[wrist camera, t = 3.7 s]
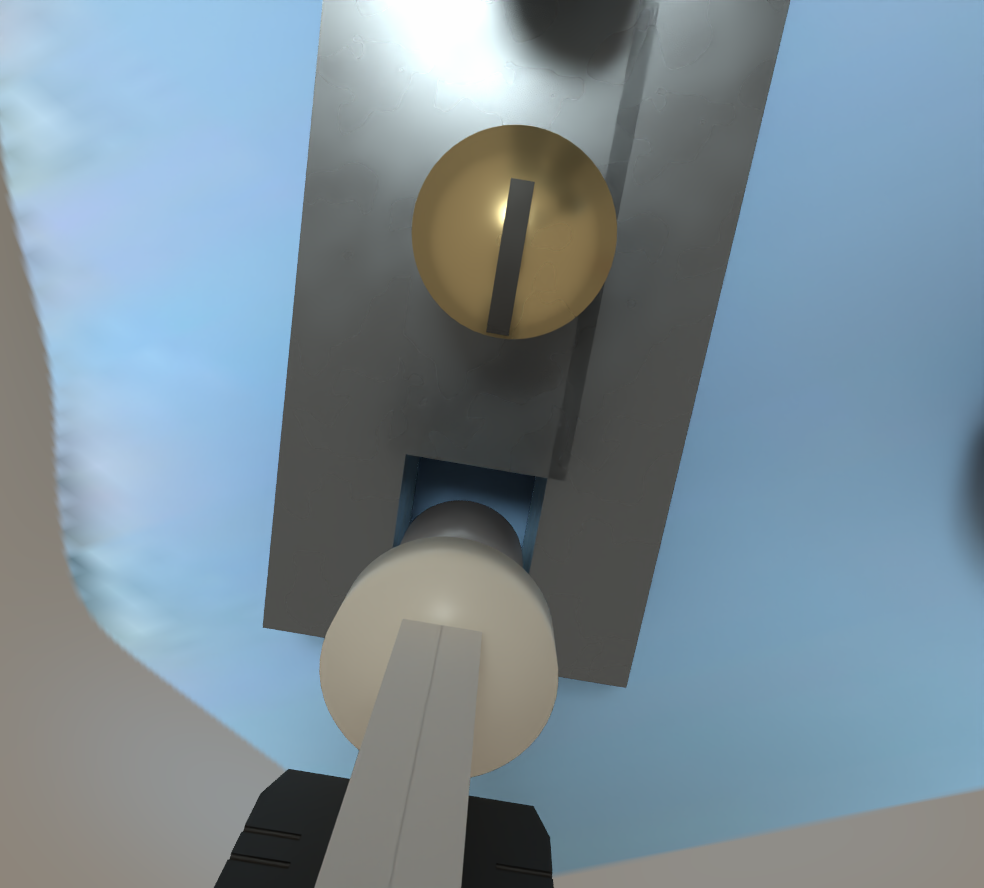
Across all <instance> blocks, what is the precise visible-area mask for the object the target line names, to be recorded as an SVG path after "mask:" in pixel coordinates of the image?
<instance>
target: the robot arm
mask: <svg viewBox="0 0 984 888" xmlns="http://www.w3.org/2000/svg"><path fill="white" fill-rule="evenodd" d="M481 640H482V632H480V631H474V630H468V629H462V628H456V627H450V626H444V625H437V624H431V623H425V622H419V621H413V620H407V619H402V622H401V625H400V628H399V631H398V634H397V637H396V641H395V644H394V647H393V650H392V653H391V656H390V659H389V662H388V665H387V668H386V671H385V674H384V677H383V680H382V683H381V686H380V689H379V692H378V695H377V698H376V701H375V704H374V708H373V711H372V714H371V717H370V720H369V723H368V726H367V729H366V732H365V735H364V738H363V741H362V744H361V747H360V750H359V753H358V756H357V759H356V762H355V765H354V768H353V771H352V775H351V778H350V779H347V778H341V777H335V776H329V775H323V774H316V773H310V772H304V771H298V770H292V769H288V770H287V771H286V772H285V773H283V774H282V775H281V776H280V777H279V778H278V779H277V780H275V781H274V782H273V783H272V784H271V785H270V786H269V787H267V788H266V789H265V790H264V791H263V792H262V793H261V794H260V796H259V798H258V800H257V802H256V804H255V806H254V808H253V810H252V812H251V814H250V816H249V818H248V820H247V822H246V824H245V828H244V831H243V832H241V834H240V836H239V838H238V840H237V842H236V844H235V846H234V848H233V850H232V852H231V856H230V859H229V860H227V862H226V864H225V867H224V869H223V870H222V873H221V874H220V876H219V878H218V881H217V882H216V885H215V886H214V888H554V887H553V879H552V859H551V845H550V837H549V835H548V833H547V831H546V829H545V827H544V825H543V823H542V821H541V820H540V818H539V816H538V814H537V812H536V810H535V808H534V806H529V805H523V804H517V803H511V802H505V801H499V800H492V799H486V798H480V797H474V796H469V786H470V773H471V761H472V749H473V737H474V725H475V713H476V700H477V688H478V676H479V664H480V652H481Z"/></svg>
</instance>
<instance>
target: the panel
mask: <svg viewBox="0 0 984 888" xmlns="http://www.w3.org/2000/svg"><path fill="white" fill-rule="evenodd" d="M789 4H790V0H323V4H322V14H321V25H320V35H319V45H318V56H317V66H316V77H315V87H314V98H313V108H312V118H311V129H310V139H309V150H308V160H307V171H306V181H305V191H304V202H303V212H302V223H301V233H300V244H299V254H298V264H297V275H296V285H295V296H294V306H293V317H292V327H291V338H290V348H289V358H288V369H287V379H286V390H285V400H284V411H283V421H282V431H281V442H280V452H279V463H278V473H277V484H276V494H275V504H274V515H273V525H272V536H271V546H270V557H269V567H268V577H267V588H266V598H265V609H264V619H263V628H269V629H275V630H281V631H287V632H293V633H300V634H306V635H312V636H318V637H324V638H325V636H326V633H327V631H328V629H329V627H330V625H331V623H332V621H333V619H334V617H335V616H336V614H337V612H338V610H339V608H340V606H341V605H342V603H343V601H344V599H345V597H346V595H347V593H348V592H349V590H350V588H351V586H352V584H353V583H354V581H355V580H356V579H357V577H358V576H359V575H360V573H361V572H362V571H363V570H364V569H365V568H366V567H367V566H368V565H369V564H370V563H371V562H372V561H374V560H375V559H376V558H378V557H379V556H380V555H382V554H383V553H385V552H387V551H389V550H390V549H392V548H394V547H396V546H399V545H400V544H401V541H402V539H403V537H404V534H405V533H406V531H407V529H408V527H409V526H410V520H411V513H412V507H413V500H414V493H415V486H416V479H417V472H418V465H419V459H420V457H425V458H430V459H436V460H442V461H448V462H454V463H460V464H466V465H472V466H478V467H484V468H490V469H496V470H502V471H508V472H513V473H519V474H525V475H531V476H536V478H535V483H534V488H533V494H532V499H531V504H530V509H529V515H528V520H527V525H526V531H525V536H524V541H523V547H522V558H523V569H524V570H525V571H526V572H527V573H528V574H529V575H530V576H531V578H532V579H533V580H534V581H535V583H536V584H537V586H538V587H539V589H540V590H541V592H542V594H543V596H544V598H545V600H546V602H547V605H548V608H549V611H550V614H551V618H552V625H553V631H554V640H555V648H556V656H557V665H558V677H564V678H570V679H576V680H582V681H588V682H594V683H600V684H606V685H612V686H618V687H624V688H626V686H627V682H628V678H629V674H630V670H631V665H632V661H633V657H634V653H635V649H636V644H637V640H638V636H639V632H640V628H641V623H642V619H643V615H644V611H645V607H646V603H647V598H648V594H649V590H650V586H651V582H652V577H653V573H654V569H655V565H656V561H657V557H658V552H659V548H660V544H661V540H662V536H663V531H664V527H665V523H666V519H667V515H668V510H669V506H670V502H671V498H672V494H673V490H674V485H675V481H676V477H677V473H678V469H679V464H680V460H681V456H682V452H683V448H684V444H685V439H686V435H687V431H688V427H689V423H690V418H691V414H692V410H693V406H694V402H695V397H696V393H697V389H698V385H699V381H700V377H701V372H702V368H703V364H704V360H705V356H706V351H707V347H708V343H709V339H710V335H711V330H712V326H713V322H714V318H715V314H716V310H717V305H718V301H719V297H720V293H721V289H722V284H723V280H724V276H725V272H726V268H727V264H728V259H729V255H730V251H731V247H732V243H733V238H734V234H735V230H736V226H737V222H738V217H739V213H740V209H741V205H742V201H743V197H744V192H745V188H746V184H747V180H748V176H749V171H750V167H751V163H752V159H753V155H754V151H755V146H756V142H757V138H758V134H759V130H760V125H761V121H762V117H763V113H764V109H765V104H766V100H767V96H768V92H769V88H770V84H771V79H772V75H773V71H774V67H775V63H776V58H777V54H778V50H779V46H780V42H781V37H782V33H783V29H784V25H785V21H786V17H787V12H788V8H789ZM502 125H527V126H534V127H538V128H542V129H546V130H549V131H551V132H554V133H556V134H559V135H560V136H562V137H564V138H565V139H567V140H569V141H571V142H572V143H573V144H575V145H576V146H577V147H578V148H580V149H581V150H582V151H583V152H584V153H585V154H586V155H587V156H588V157H589V158H590V159H591V160H592V162H593V163H594V164H595V166H596V167H597V168H598V170H599V171H600V173H601V174H602V176H603V178H604V180H605V182H606V183H607V186H608V188H609V191H610V193H611V196H612V199H613V203H614V207H615V212H616V221H617V242H616V249H615V255H614V258H613V262H612V266H611V269H610V271H609V274H608V276H607V278H606V280H605V282H604V284H603V286H602V288H601V289H600V291H599V293H598V294H597V295H596V297H595V298H594V299H593V301H592V302H591V303H590V304H589V305H588V306H587V307H586V308H585V309H584V311H583V312H581V313H580V314H579V315H578V316H577V317H575V318H574V319H573V320H572V321H570V322H568V323H567V324H565V325H564V326H562V327H560V328H558V329H556V330H554V331H551V332H549V333H546V334H543V335H540V336H536V337H531V338H525V339H503V338H495V337H491V336H487V335H483V334H481V333H478V332H475V331H473V330H471V329H469V328H467V327H465V326H463V325H462V324H460V323H459V322H457V321H456V320H454V319H453V318H452V317H450V316H449V315H448V314H447V313H446V312H445V311H444V310H443V309H442V308H441V307H440V306H439V305H438V304H437V303H436V301H435V300H434V299H433V298H432V296H431V295H430V293H429V291H428V290H427V288H426V287H425V285H424V283H423V281H422V278H421V276H420V274H419V272H418V268H417V265H416V262H415V258H414V253H413V247H412V218H413V213H414V208H415V204H416V201H417V198H418V195H419V192H420V189H421V187H422V185H423V183H424V181H425V179H426V177H427V176H428V174H429V173H430V171H431V169H432V168H433V166H434V165H435V164H436V163H437V162H438V161H439V159H440V158H441V157H442V156H443V155H444V154H445V153H446V152H447V151H448V150H450V149H451V148H452V147H453V146H454V145H456V144H457V143H459V142H460V141H462V140H463V139H465V138H466V137H468V136H471V135H473V134H475V133H477V132H479V131H482V130H485V129H488V128H492V127H497V126H502Z"/></svg>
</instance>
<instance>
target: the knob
mask: <svg viewBox="0 0 984 888" xmlns="http://www.w3.org/2000/svg"><path fill="white" fill-rule="evenodd" d="M402 619H407V620H413V621H419V622H425V623H431V624H437V625H444V626H450V627H456V628H462V629H468V630H474V631H480V632H482V640H481V652H480V664H479V676H478V688H477V700H476V713H475V725H474V737H473V749H472V761H471V773H470V777H475V776H479V775H482V774H485V773H488V772H490V771H493V770H495V769H497V768H499V767H501V766H503V765H505V764H507V763H509V762H510V761H512V760H513V759H514V758H516V757H517V756H519V755H520V754H521V753H522V752H523V751H525V750H526V749H527V748H528V747H529V746H530V745H531V744H532V743H533V741H534V740H535V739H536V738H537V737H538V736H539V734H540V733H541V731H542V730H543V728H544V726H545V725H546V723H547V721H548V719H549V717H550V715H551V712H552V710H553V707H554V703H555V700H556V695H557V688H558V665H557V656H556V648H555V640H554V631H553V625H552V618H551V614H550V611H549V608H548V605H547V602H546V600H545V598H544V596H543V594H542V592H541V590H540V589H539V587H538V586H537V584H536V583H535V581H534V580H533V579H532V578H531V576H530V575H529V574H528V573H527V572H526V571H525V570H524V569H523V558H522V549H521V545H520V541H519V538H518V536H517V534H516V532H515V531H514V529H513V527H512V526H511V525H510V523H509V522H508V521H507V520H506V519H505V518H504V517H503V516H502V515H501V514H499V513H498V512H496V511H495V510H493V509H492V508H490V507H488V506H486V505H483V504H480V503H477V502H472V501H465V500H454V501H447V502H443V503H440V504H437V505H435V506H432V507H430V508H428V509H427V510H425V511H424V512H422V513H421V514H420V515H419V516H417V518H416V519H415V520H414V521H413V522H412V523H411V524H410V526H409V527H408V529H407V531H406V533H405V534H404V537H403V539H402V541H401V544H400V545H399V546H396V547H394V548H392V549H390V550H389V551H387V552H385V553H383V554H382V555H380V556H379V557H378V558H376V559H375V560H374V561H372V562H371V563H370V564H369V565H368V566H367V567H366V568H365V569H364V570H363V571H362V572H361V573H360V575H359V576H358V577H357V579H356V580H355V581H354V583H353V584H352V586H351V588H350V590H349V592H348V593H347V595H346V597H345V599H344V601H343V603H342V605H341V606H340V608H339V610H338V612H337V614H336V616H335V617H334V619H333V621H332V623H331V625H330V627H329V629H328V631H327V633H326V636H325V639H324V642H323V645H322V651H321V656H320V671H319V672H320V682H321V688H322V692H323V697H324V700H325V703H326V705H327V708H328V710H329V713H330V714H331V716H332V718H333V720H334V721H335V723H336V725H337V726H338V728H339V729H340V730H341V732H342V733H343V734H344V736H345V737H346V738H347V739H348V740H349V741H350V742H351V743H352V744H353V745H354V746H355V747H356V748H357V749H358V750H360V747H361V744H362V741H363V738H364V735H365V732H366V729H367V726H368V723H369V720H370V717H371V714H372V711H373V708H374V704H375V701H376V698H377V695H378V692H379V689H380V686H381V683H382V680H383V677H384V674H385V671H386V668H387V665H388V662H389V659H390V656H391V653H392V650H393V647H394V644H395V641H396V637H397V634H398V631H399V628H400V625H401V622H402Z"/></svg>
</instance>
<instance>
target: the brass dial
mask: <svg viewBox="0 0 984 888" xmlns="http://www.w3.org/2000/svg"><path fill="white" fill-rule="evenodd" d="M616 242H617V221H616V212H615V207H614V203H613V199H612V196H611V193H610V191H609V188H608V186H607V183H606V182H605V180H604V178H603V176H602V174H601V173H600V171H599V170H598V168H597V167H596V166H595V164H594V163H593V162H592V160H591V159H590V158H589V157H588V156H587V155H586V154H585V153H584V152H583V151H582V150H581V149H580V148H578V147H577V146H576V145H575V144H573V143H572V142H571V141H569V140H567V139H565V138H564V137H562V136H560V135H559V134H556V133H554V132H551V131H549V130H546V129H542V128H538V127H534V126H527V125H502V126H497V127H492V128H488V129H485V130H482V131H479V132H477V133H475V134H473V135H471V136H468V137H466V138H465V139H463V140H462V141H460V142H459V143H457V144H456V145H454V146H453V147H452V148H451V149H450V150H448V151H447V152H446V153H445V154H444V155H443V156H442V157H441V158H440V159H439V161H438V162H437V163H436V164H435V165H434V166H433V168H432V169H431V171H430V173H429V174H428V176H427V177H426V179H425V181H424V183H423V185H422V187H421V189H420V192H419V195H418V198H417V201H416V204H415V208H414V213H413V218H412V247H413V253H414V258H415V262H416V265H417V268H418V272H419V274H420V276H421V278H422V281H423V283H424V285H425V287H426V288H427V290H428V291H429V293H430V295H431V296H432V298H433V299H434V300H435V301H436V303H437V304H438V305H439V306H440V307H441V308H442V309H443V310H444V311H445V312H446V313H447V314H448V315H449V316H450V317H452V318H453V319H454V320H456V321H457V322H459V323H460V324H462V325H463V326H465V327H467V328H469V329H471V330H473V331H475V332H478V333H481V334H483V335H487V336H491V337H495V338H503V339H525V338H531V337H536V336H540V335H543V334H546V333H549V332H551V331H554V330H556V329H558V328H560V327H562V326H564V325H565V324H567V323H568V322H570V321H572V320H573V319H574V318H575V317H577V316H578V315H579V314H580V313H581V312H583V311H584V309H585V308H586V307H587V306H588V305H589V304H590V303H591V302H592V301H593V299H594V298H595V297H596V295H597V294H598V293H599V291H600V289H601V288H602V286H603V284H604V282H605V280H606V278H607V276H608V274H609V271H610V269H611V266H612V262H613V258H614V255H615V249H616Z"/></svg>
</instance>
